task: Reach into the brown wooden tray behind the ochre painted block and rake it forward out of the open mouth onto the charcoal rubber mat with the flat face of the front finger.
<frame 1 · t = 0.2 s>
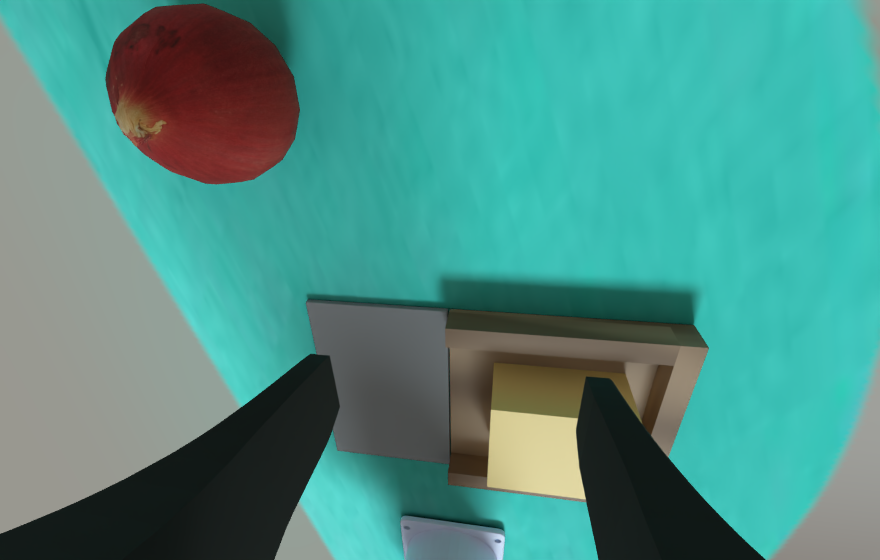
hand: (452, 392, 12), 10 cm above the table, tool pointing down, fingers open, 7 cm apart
brown wooden tray: (551, 403, 24), on the table
block: (552, 407, 24), resting on brown wooden tray
onion: (268, 89, 18), on the table
mat: (385, 387, 26), on the table
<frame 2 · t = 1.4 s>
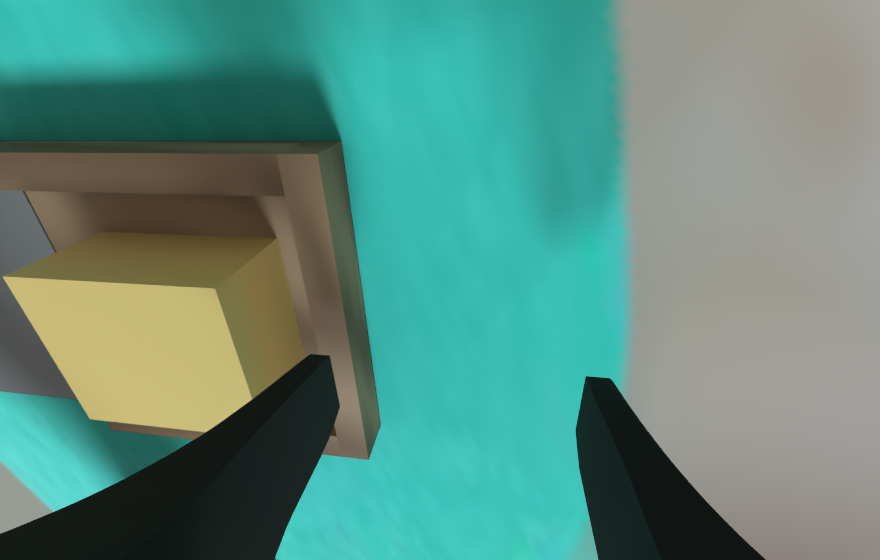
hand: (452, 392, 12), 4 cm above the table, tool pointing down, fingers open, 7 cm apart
brown wooden tray: (215, 301, 17), on the table
block: (211, 305, 16), resting on brown wooden tray
mat: (5, 288, 18), on the table
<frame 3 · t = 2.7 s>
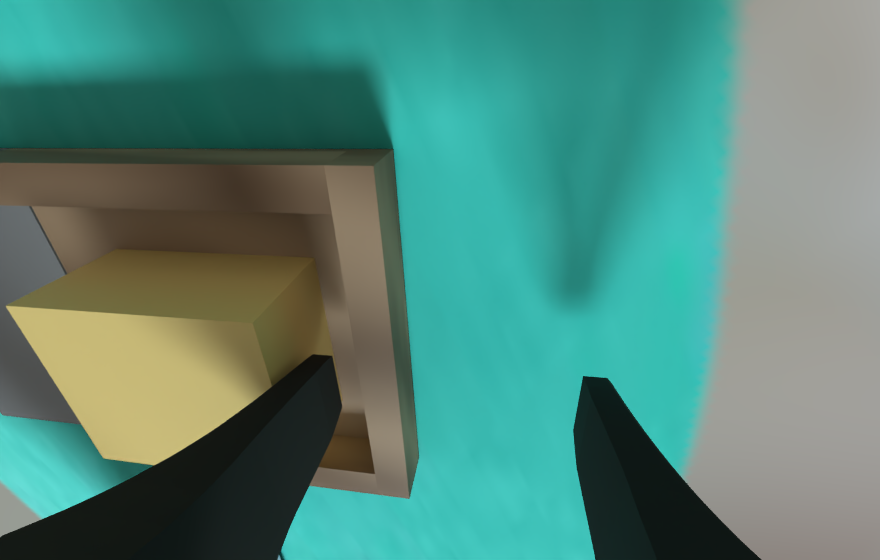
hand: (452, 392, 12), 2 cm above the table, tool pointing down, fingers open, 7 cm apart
brown wooden tray: (241, 324, 15), on the table
block: (236, 329, 15), touching gripper
mat: (9, 308, 17), on the table
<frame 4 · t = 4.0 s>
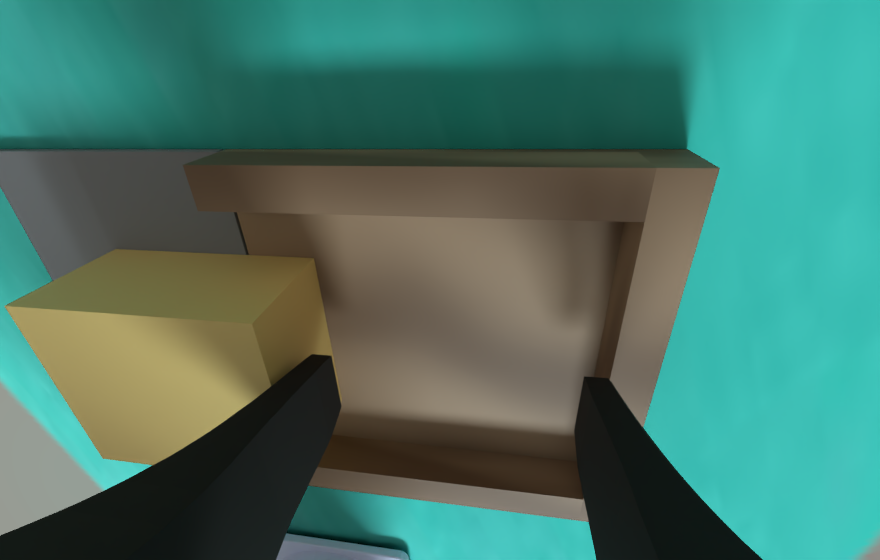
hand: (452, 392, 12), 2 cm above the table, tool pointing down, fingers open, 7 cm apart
brown wooden tray: (441, 338, 14), on the table
block: (236, 329, 15), on the table, touching gripper
mat: (173, 320, 15), on the table
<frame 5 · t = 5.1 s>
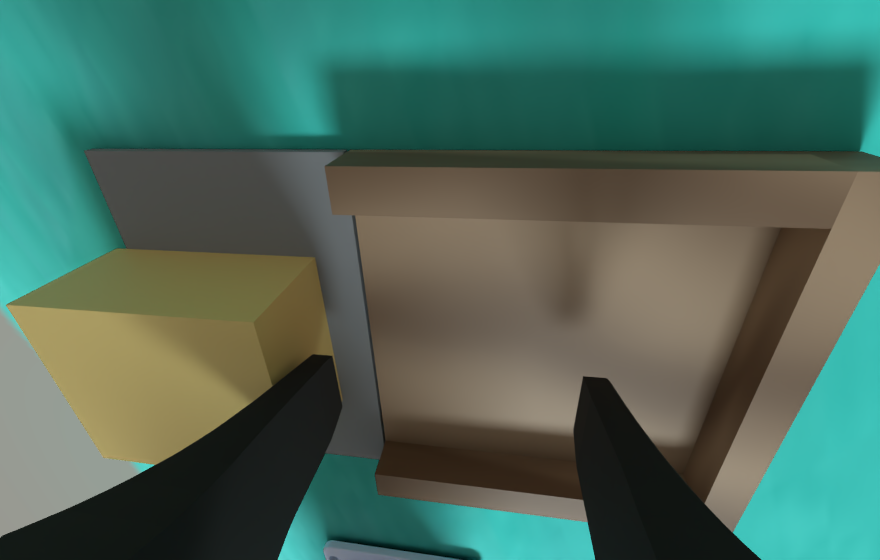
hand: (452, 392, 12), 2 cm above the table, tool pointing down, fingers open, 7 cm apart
brown wooden tray: (553, 347, 13), on the table
block: (236, 329, 15), resting on mat, touching gripper
mat: (264, 326, 15), on the table
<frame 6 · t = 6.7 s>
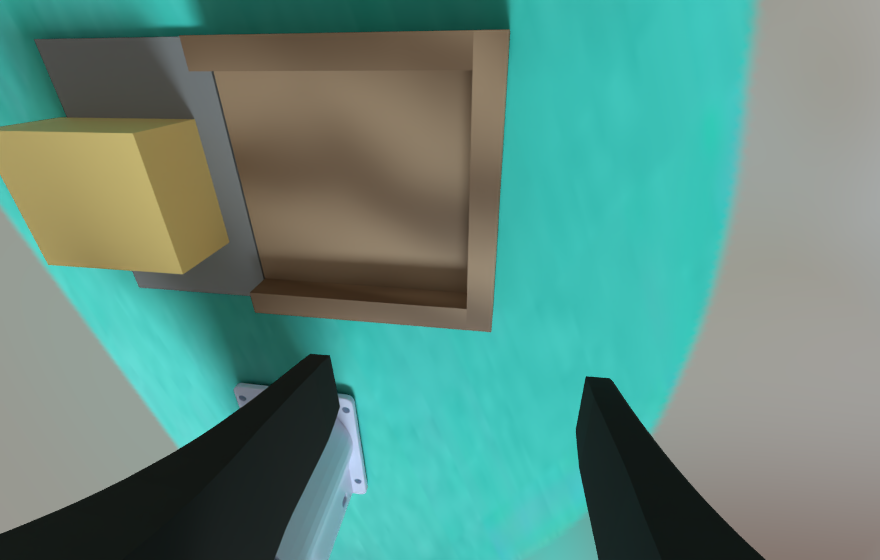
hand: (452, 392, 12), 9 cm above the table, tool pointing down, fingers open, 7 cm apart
brown wooden tray: (365, 189, 19), on the table
block: (148, 182, 20), resting on mat
mat: (169, 182, 21), on the table
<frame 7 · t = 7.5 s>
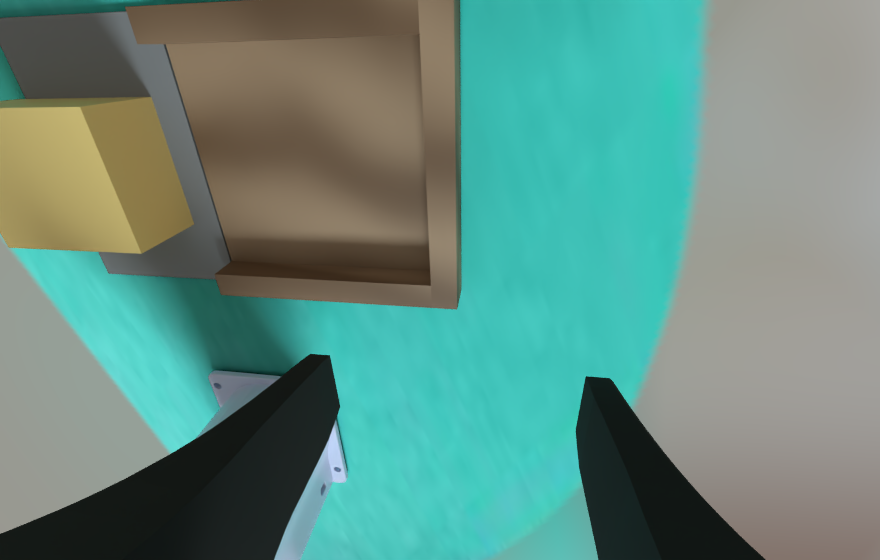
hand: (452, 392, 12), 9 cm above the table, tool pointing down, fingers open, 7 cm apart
brown wooden tray: (325, 165, 19), on the table
block: (110, 164, 20), resting on mat
mat: (131, 163, 20), on the table
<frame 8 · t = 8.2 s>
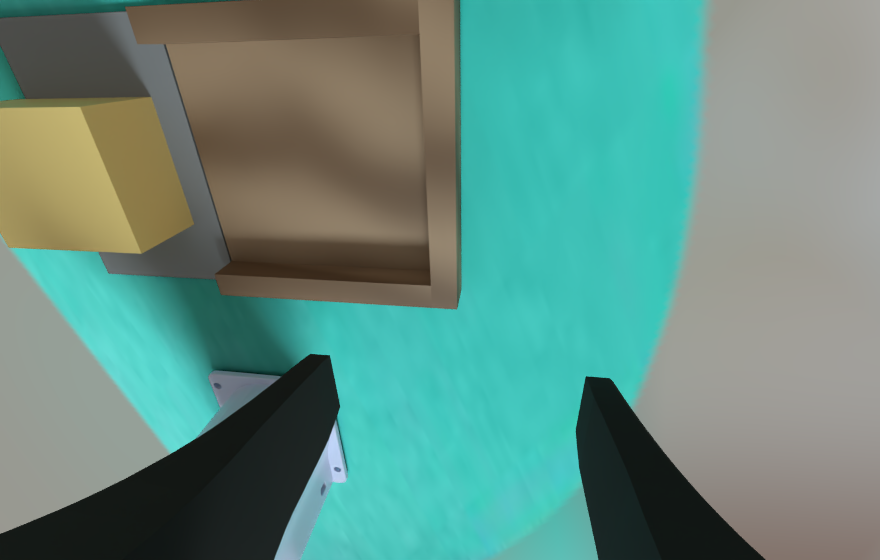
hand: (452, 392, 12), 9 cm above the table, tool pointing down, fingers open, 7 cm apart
brown wooden tray: (325, 165, 19), on the table
block: (110, 164, 20), resting on mat
mat: (131, 163, 20), on the table
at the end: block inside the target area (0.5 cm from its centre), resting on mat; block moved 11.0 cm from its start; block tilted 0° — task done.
